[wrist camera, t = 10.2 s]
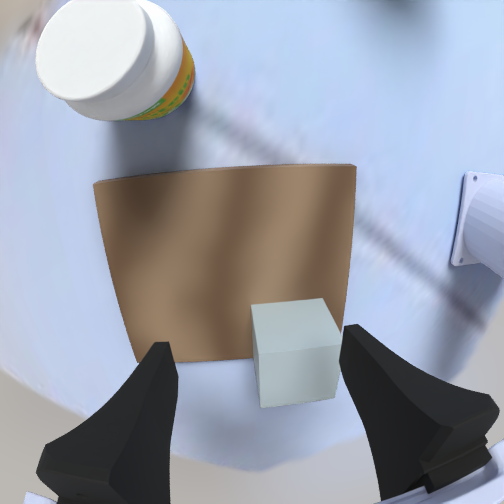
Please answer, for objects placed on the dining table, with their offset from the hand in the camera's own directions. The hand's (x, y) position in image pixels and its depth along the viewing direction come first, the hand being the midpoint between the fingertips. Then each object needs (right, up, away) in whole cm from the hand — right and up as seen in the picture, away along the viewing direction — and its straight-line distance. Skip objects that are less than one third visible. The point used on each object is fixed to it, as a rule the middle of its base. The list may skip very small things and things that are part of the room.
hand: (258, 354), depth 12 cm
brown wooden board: (-2, +3, +9) cm, 9 cm away
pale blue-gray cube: (+2, -2, +10) cm, 10 cm away
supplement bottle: (-6, +14, +4) cm, 16 cm away
